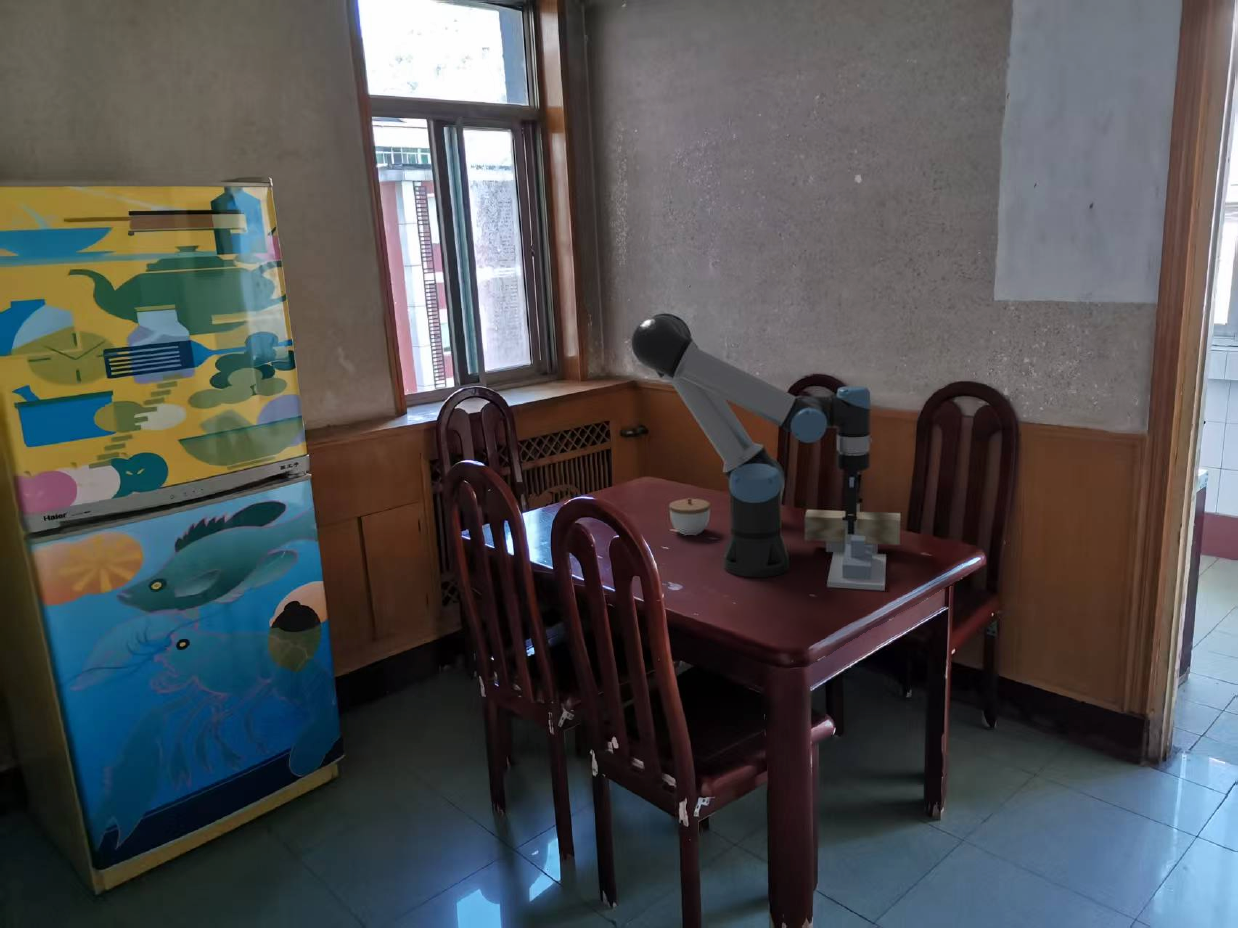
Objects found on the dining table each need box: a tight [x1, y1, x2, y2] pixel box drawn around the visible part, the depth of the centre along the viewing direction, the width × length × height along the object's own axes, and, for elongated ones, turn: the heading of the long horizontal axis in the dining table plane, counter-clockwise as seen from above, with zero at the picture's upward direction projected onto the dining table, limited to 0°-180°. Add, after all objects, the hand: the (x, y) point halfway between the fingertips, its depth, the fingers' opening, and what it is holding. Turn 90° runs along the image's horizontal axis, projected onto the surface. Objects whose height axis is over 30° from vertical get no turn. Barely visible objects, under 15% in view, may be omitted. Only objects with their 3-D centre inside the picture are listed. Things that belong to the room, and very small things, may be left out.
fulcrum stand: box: [826, 535, 887, 592], centre depth 198 cm, size 12×20×8 cm, turn 163°
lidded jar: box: [668, 497, 711, 536], centre depth 233 cm, size 11×11×9 cm
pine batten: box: [804, 509, 901, 546], centre depth 212 cm, size 22×6×6 cm, turn 73°
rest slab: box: [825, 541, 879, 554], centre depth 213 cm, size 12×4×3 cm, turn 73°
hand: (852, 537), depth 213 cm, fingers open, 13 cm apart
